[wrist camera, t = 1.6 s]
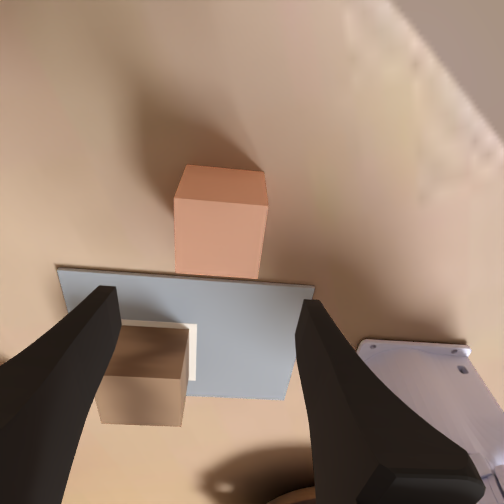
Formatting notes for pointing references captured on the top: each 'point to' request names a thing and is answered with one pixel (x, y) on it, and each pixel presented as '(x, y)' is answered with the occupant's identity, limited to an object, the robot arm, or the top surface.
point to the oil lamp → (297, 497)
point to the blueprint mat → (211, 325)
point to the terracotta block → (220, 221)
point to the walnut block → (146, 378)
